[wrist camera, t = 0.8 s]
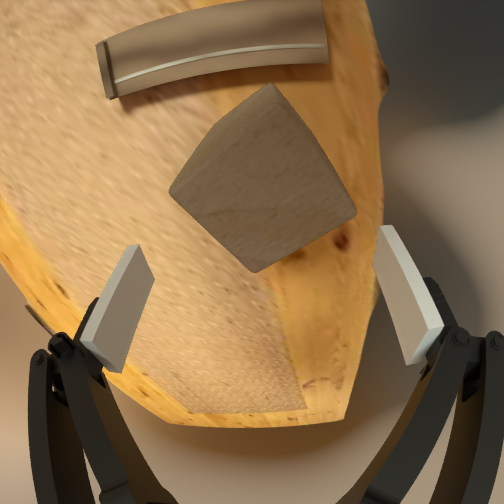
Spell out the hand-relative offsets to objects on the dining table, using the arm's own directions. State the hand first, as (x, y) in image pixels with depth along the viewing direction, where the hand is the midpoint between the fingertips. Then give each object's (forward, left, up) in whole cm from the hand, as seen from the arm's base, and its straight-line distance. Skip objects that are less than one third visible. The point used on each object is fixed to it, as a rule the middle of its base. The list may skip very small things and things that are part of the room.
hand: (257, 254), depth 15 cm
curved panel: (-14, -5, -25) cm, 29 cm away
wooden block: (0, 0, -26) cm, 26 cm away
